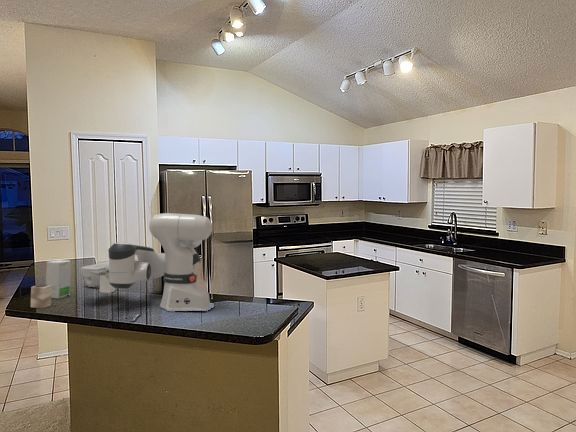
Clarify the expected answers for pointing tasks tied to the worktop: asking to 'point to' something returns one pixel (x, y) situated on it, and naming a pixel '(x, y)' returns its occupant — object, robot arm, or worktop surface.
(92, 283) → the donut
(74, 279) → the worktop surface
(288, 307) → the worktop surface
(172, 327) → the worktop surface
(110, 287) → the off-white marked block
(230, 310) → the worktop surface
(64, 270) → the skincare box
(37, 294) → the birch marked block
